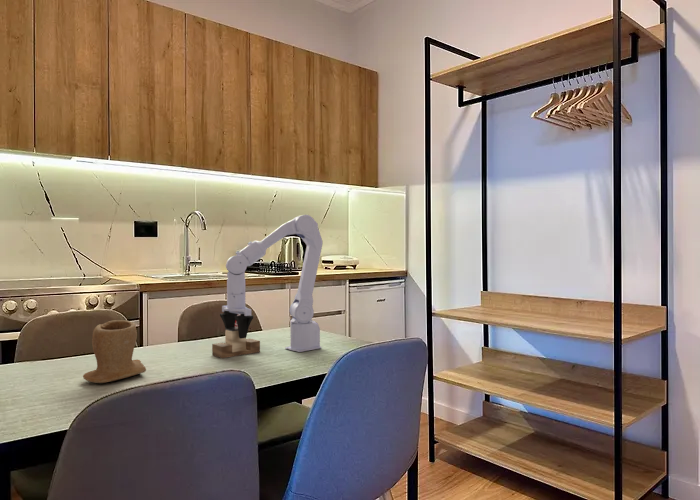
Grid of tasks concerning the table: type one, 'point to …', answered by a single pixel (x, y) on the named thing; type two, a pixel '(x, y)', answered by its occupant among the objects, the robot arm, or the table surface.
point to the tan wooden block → (235, 339)
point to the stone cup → (114, 352)
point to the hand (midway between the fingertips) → (236, 336)
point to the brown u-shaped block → (226, 351)
